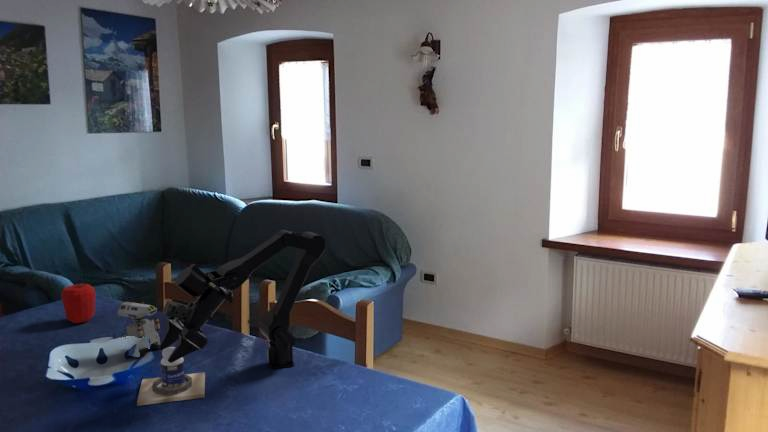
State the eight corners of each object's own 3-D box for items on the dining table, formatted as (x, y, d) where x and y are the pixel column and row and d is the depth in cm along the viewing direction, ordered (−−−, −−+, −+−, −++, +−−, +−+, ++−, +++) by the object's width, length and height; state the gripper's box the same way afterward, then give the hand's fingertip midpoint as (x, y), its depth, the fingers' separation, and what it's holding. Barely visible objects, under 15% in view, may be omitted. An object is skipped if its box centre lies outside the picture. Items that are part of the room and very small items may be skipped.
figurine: (138, 342, 194) (134, 296, 191) (165, 349, 189) (161, 301, 186) (113, 353, 186) (109, 305, 183) (141, 360, 181) (137, 311, 178)
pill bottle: (169, 393, 158) (167, 356, 157) (157, 386, 162) (155, 350, 160) (189, 385, 163) (187, 349, 161) (177, 379, 166) (175, 343, 165)
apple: (88, 326, 207) (84, 287, 205) (58, 326, 208) (53, 287, 205) (103, 315, 218) (99, 278, 215) (73, 315, 218) (70, 278, 215)
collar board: (205, 375, 171) (204, 368, 170) (204, 397, 158) (204, 389, 158) (142, 382, 167) (142, 375, 166) (137, 405, 154) (136, 397, 154)
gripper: (172, 280, 167) (132, 327, 164) (191, 299, 152) (147, 351, 148) (203, 303, 173) (165, 349, 169) (225, 323, 157) (183, 374, 154)
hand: (164, 355), depth 160 cm, fingers open, 9 cm apart
